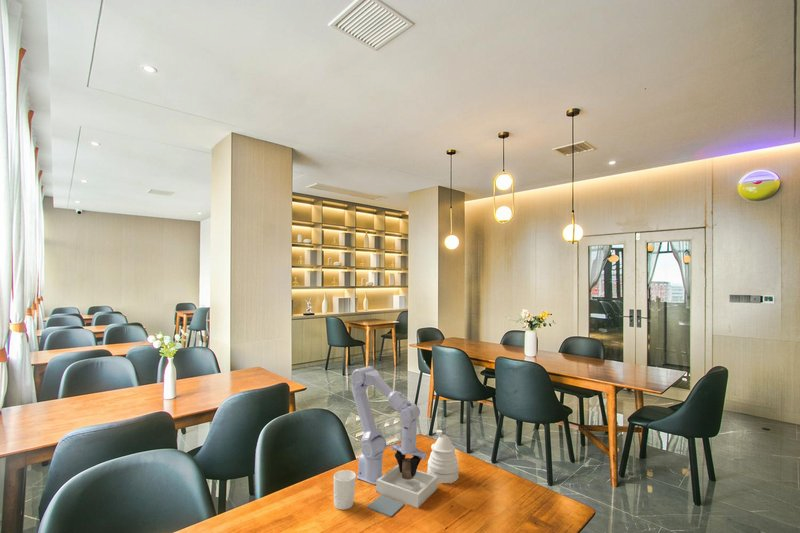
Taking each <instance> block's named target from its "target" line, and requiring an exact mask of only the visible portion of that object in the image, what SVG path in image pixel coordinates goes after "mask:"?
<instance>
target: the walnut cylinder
mask: <svg viewBox="0 0 800 533" xmlns="http://www.w3.org/2000/svg"><path fill="white" fill-rule="evenodd" d="M411 458H412V457H411ZM411 458H410V457H405V458H404V459H403V460H402V478H403V479H407V480H410V479H413V477H412V476H411V461H410V459H411Z"/></svg>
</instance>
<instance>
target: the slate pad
mask: <svg viewBox="0 0 800 533" xmlns="http://www.w3.org/2000/svg"><path fill="white" fill-rule="evenodd" d="M405 505H406V503H403V502H400V501H398V500H395V499H392V498H390V497H387V496H384V495H382V494H380V495H379V496H378V497H377V498H375V499H374V500H373V501H372V502H370V504H368V505H367V506H366V508H367V509H369V510H372V511H374V512H377V513H379V514H381V515H383V516H386V517H389V518H393V516H394V515H396V514H397V513H398V512H399V511H400V510H401V509H402V508H403V507H404V506H405Z"/></svg>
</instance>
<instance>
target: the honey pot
mask: <svg viewBox="0 0 800 533" xmlns="http://www.w3.org/2000/svg"><path fill="white" fill-rule="evenodd" d="M436 435H437V436H438V438H437V439H436V441H435V443H432V444H431V447H430V449H431V452H430V456H429V458H428V460H427V472H426V473H428V474H431V475H435V476H438V482H439V483H438V484H441V483H450V484H453V483H452V482H454V481H456V480H457V479H458V480H459V469H460V468H459V462H458V458H457V454H456V452H455V451H456V447H455V446H454V445H453V443H452V442H451V440H450V438H449V437H448V435H446V434H443V430H441V429H436ZM458 480H457V481H458ZM457 481H456V482H457ZM454 483H455V482H454Z"/></svg>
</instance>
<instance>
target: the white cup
mask: <svg viewBox="0 0 800 533" xmlns="http://www.w3.org/2000/svg"><path fill="white" fill-rule="evenodd" d="M356 479H357V474H356V473H355V471H352V470H347V469H344V470H343V469H342V470H338V471H336V472H335V473H334V474H333V505H334V508H336V509H338V510H343V511H344V510H348V509H350V508H352V507H353V505H354V499H355V489H356Z"/></svg>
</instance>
